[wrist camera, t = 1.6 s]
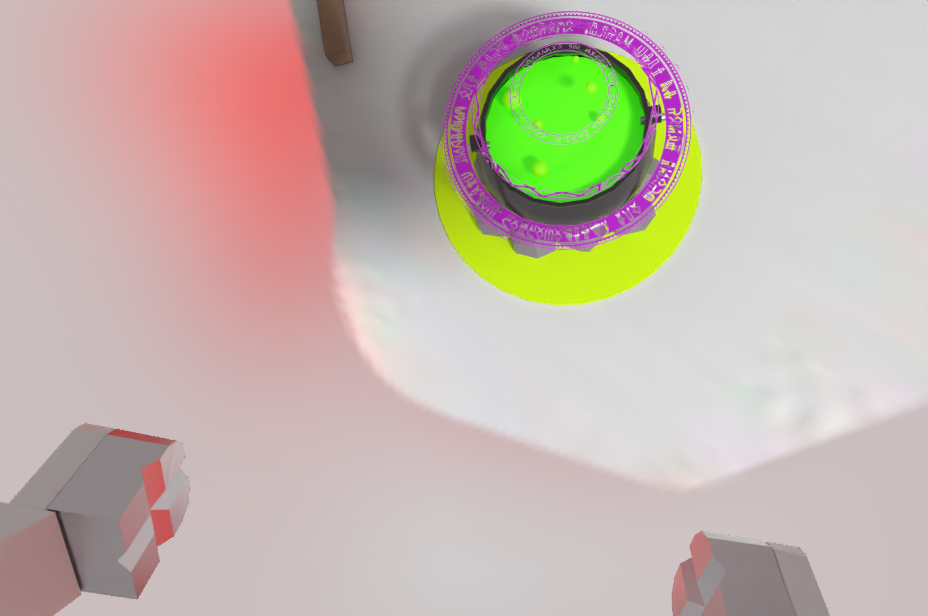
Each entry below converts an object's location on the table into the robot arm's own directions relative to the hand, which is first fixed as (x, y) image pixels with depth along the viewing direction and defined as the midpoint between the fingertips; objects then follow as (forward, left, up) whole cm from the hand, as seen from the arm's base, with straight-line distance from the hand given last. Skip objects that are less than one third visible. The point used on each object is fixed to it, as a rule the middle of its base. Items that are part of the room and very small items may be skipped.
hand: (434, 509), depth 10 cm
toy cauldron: (-4, -13, -27) cm, 30 cm away
